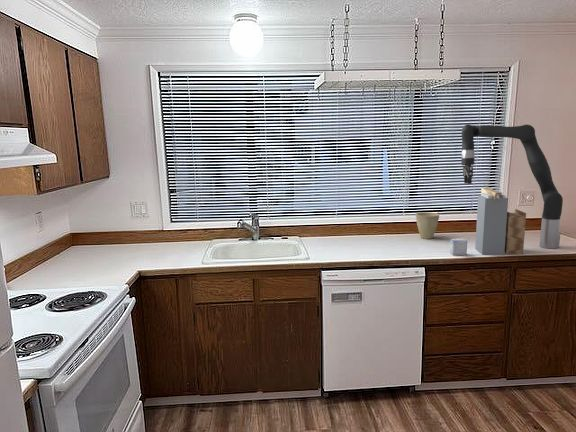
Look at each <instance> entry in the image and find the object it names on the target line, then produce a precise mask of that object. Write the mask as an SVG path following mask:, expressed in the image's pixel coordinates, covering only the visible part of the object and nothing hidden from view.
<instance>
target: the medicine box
mask: <svg viewBox="0 0 576 432" xmlns="http://www.w3.org/2000/svg"><path fill="white" fill-rule="evenodd" d="M449 248H450V250H449V253H450V255H452V256H467V254H468V252H467V251H468V239H465V238H451V239H450V247H449Z"/></svg>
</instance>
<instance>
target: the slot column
mask: <svg viewBox="0 0 576 432" xmlns="http://www.w3.org/2000/svg"><path fill="white" fill-rule="evenodd" d="M502 195H503V199H494V198H492V195H489V194H486V193H481V192H480V195H478V196H477V198H478V199H477V212H476V213H477V214H476V228H475V229H476V230H475V246H474V247H475V248H474V249H475V250H476V251H477V252H478V253H480V254H481V255H501V256H502V255H505V253H504V250H505V236H506V222H507V212H508V208H509V198H508V197H506V195H505V194H502Z"/></svg>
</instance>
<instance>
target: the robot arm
mask: <svg viewBox="0 0 576 432" xmlns="http://www.w3.org/2000/svg"><path fill="white" fill-rule="evenodd" d="M474 137H482V138H510V139H516V140H520V142H521V145H522V146H523V148H524V151H525V155H526V159H527V163H528V165H529V168H530V170H531V173H532V175H533V177H534V178H535V180H536V182H537V184H538V187H539V189H540V191H541V192H540V193H541V196H542V200H543V210H542V215H541V223H540V224H541V227H540V237H539V247H541V248H544V249H557V248H560V245H561V244H560V242H561V241H560V240H561V231H560V225H561V216H562V212H563V203H564V202H563V201H564V199H563V196H562V195H561V194H560V192H559V191H558V189H557V187H556V186H555V183H554V181H553V177H552V172H551V171H552V170H551V168H550V164H549V163H548V160H547V158H546V156H545V154H544V152H543V150H542V148H541V147H540V145H539V143H538V139H537V136H536V130H535V127H534V126H532V125H531V124H523V125H517V126H516V125H515V126H503V125H502V126H501V125H493V124H491V125H489V124H487V125H486V124H482V125H472V124H469V123H468V124H465V125H464V126H462V127H461V155H460V156H461V157H460V158H461V166H463V167H462V176H463V183H464V184H468V185H471V184H472V183H473V182H472V180H473V177H474V167H473V166H474V165H475V161H476V160H475V157H476V156H475V153H476V152H475V140H474Z"/></svg>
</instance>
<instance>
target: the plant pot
mask: <svg viewBox="0 0 576 432" xmlns="http://www.w3.org/2000/svg"><path fill="white" fill-rule="evenodd" d="M415 219H416V225H417V229H418V230H417V231H418V233H419V236H420V238H421V239H424V240H431V239H433V238H434V237H435V233H436V230H437V226H438V224H439V219H440V214H439V213H436V212H427V211H426V212H417V213H415Z"/></svg>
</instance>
